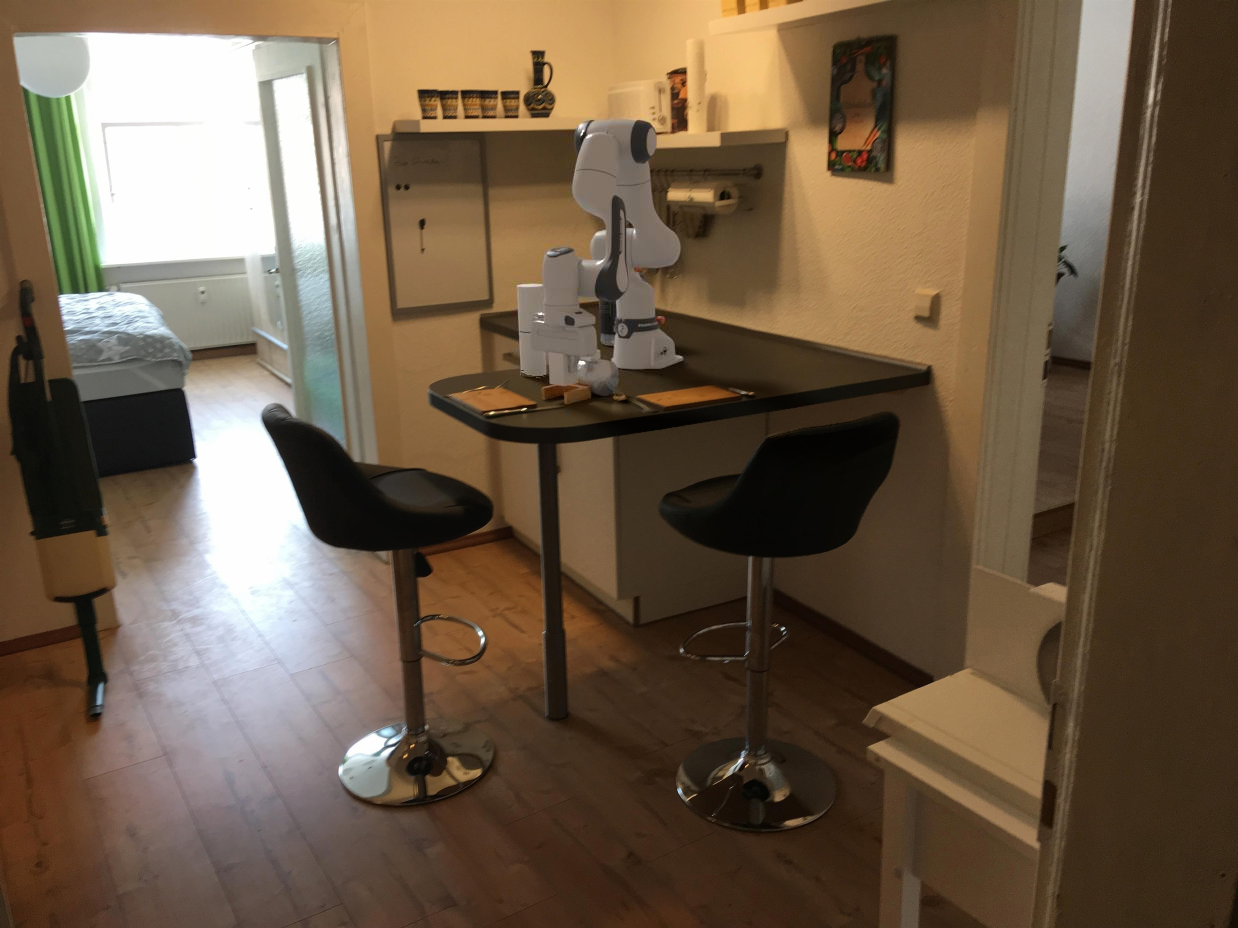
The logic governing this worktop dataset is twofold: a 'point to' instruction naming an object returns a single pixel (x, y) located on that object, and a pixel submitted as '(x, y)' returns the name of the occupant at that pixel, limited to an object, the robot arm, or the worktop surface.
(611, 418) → the worktop surface
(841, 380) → the worktop surface
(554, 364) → the block
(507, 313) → the worktop surface
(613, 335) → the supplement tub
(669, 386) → the worktop surface
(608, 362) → the motor mount
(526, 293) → the cylindrical container
